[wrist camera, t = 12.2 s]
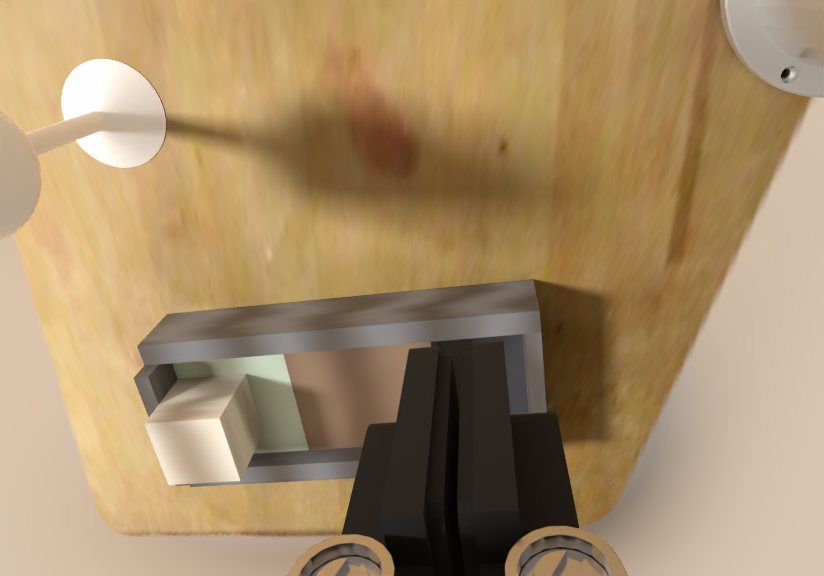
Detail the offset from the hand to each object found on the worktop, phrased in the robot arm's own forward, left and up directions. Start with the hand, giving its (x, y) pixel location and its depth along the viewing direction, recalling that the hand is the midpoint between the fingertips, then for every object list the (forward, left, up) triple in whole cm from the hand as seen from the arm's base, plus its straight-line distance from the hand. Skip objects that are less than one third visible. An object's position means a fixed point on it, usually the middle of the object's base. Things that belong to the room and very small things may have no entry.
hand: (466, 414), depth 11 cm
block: (+20, +17, -26) cm, 37 cm away
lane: (+10, +17, -29) cm, 35 cm away
